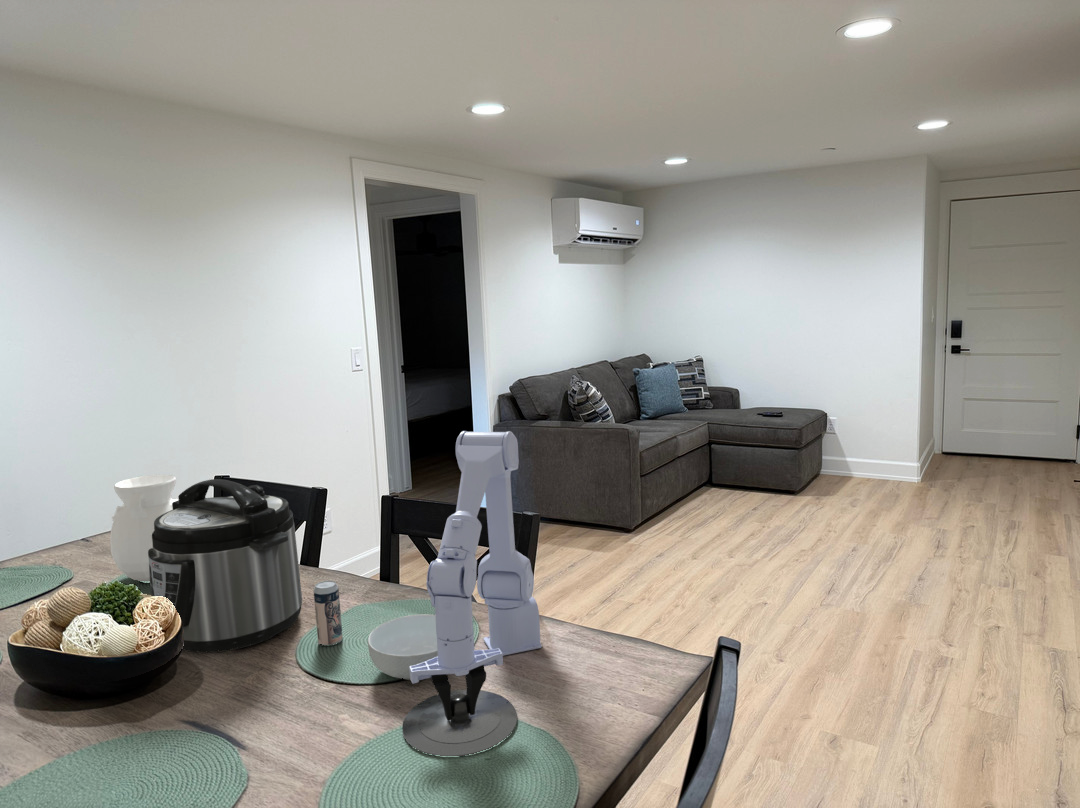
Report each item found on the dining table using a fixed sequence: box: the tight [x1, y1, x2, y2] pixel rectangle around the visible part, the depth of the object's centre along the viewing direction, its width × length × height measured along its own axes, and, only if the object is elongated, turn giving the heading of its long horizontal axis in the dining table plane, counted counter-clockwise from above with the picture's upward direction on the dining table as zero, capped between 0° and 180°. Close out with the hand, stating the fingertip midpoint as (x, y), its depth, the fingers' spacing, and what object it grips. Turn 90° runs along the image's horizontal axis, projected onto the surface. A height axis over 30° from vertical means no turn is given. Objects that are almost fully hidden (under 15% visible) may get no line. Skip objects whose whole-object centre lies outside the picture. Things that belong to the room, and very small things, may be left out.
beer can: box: [313, 580, 344, 646], centre depth 147 cm, size 5×5×12 cm
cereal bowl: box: [367, 613, 438, 681], centre depth 135 cm, size 17×17×7 cm
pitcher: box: [109, 474, 179, 581], centre depth 185 cm, size 19×18×25 cm
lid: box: [402, 689, 518, 756], centre depth 118 cm, size 18×18×4 cm
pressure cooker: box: [148, 478, 303, 654], centre depth 154 cm, size 30×28×32 cm
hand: (459, 714), depth 118 cm, fingers closed on lid, 3 cm apart
